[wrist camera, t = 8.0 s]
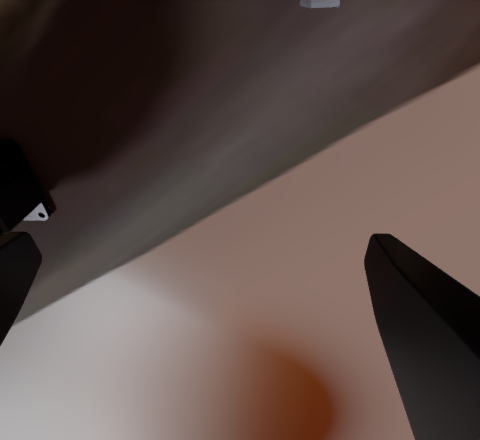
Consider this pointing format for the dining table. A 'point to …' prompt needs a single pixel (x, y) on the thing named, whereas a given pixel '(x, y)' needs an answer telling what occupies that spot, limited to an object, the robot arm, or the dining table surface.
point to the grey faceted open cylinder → (319, 3)
